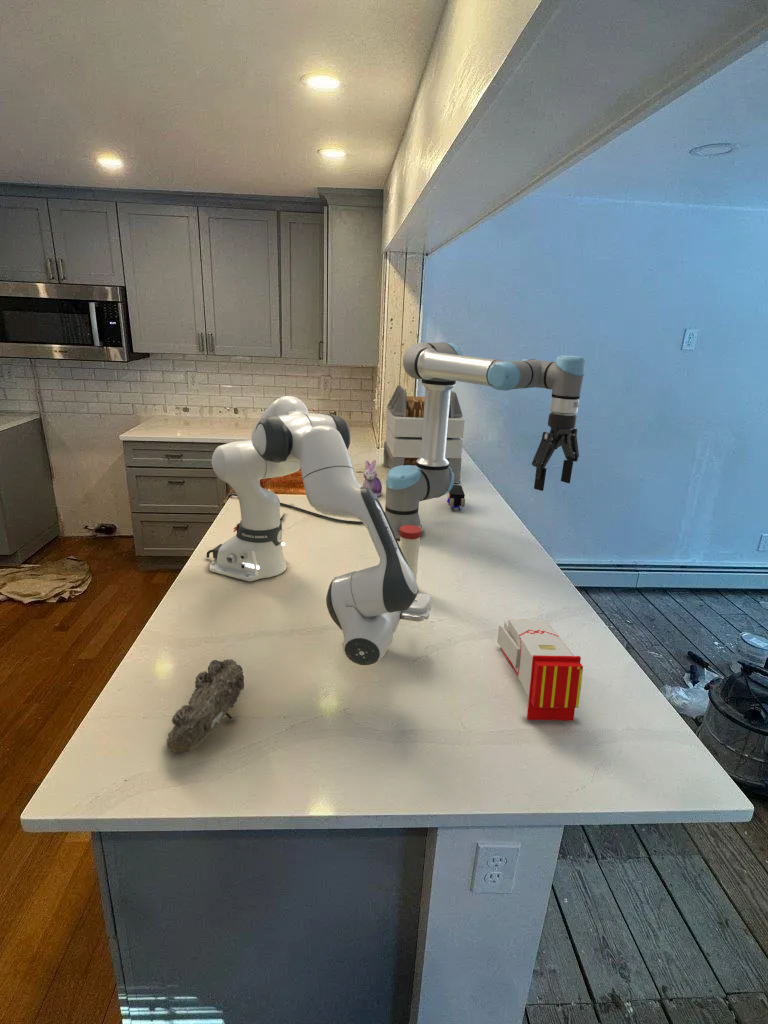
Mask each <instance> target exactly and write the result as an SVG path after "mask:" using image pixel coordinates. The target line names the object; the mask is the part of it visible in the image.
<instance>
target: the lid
mask: <svg viewBox="0 0 768 1024" xmlns="http://www.w3.org/2000/svg"><path fill="white" fill-rule="evenodd" d="M399 535H400V536H401V537H403V538H406V539H417V538H420V539H421V537H422V535H423V528H422V529H421V528H420V527H418V526H414V525H404V526H401V527H400V529H399Z"/></svg>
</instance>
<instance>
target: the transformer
mask: <svg viewBox="0 0 768 1024" xmlns="http://www.w3.org/2000/svg"><path fill="white" fill-rule="evenodd" d="M407 394H408V393H407V390H406V389H404V388H403V387H402V385H399V384H398V385H397V386H396V388H395V390H394V392H393V394H392V395H391V398H390V400H389V402H388V404H387V405H386V413H385V414H386V415H385V423H386V428H385V438H384V442H383V466H384V467H388V468H389V470H390V469H392V468H394V467H396V466H401V465H404V466H405V465H413V466H416V461H417V459H418V458H420V457H421V449H422V434H423V419H424V404H425V396H415V395H414V396H413V395H412V396H411V395H407ZM464 429H465V419H464V418H463V411H462V408H461V405H460V402H459V398H458V395H457V392H455V391H453V390H451V392H450V404H449V416H448V428H447V441H446V453H445V458H446V459H447V461H448V462H449V466H450V467H451V469H452V473H454V484H455V483H456V484H459V483H461V472H462V461H463V460H462V453H463V442H464V441H463V440H462V439H463V438H464V431H465V430H464Z"/></svg>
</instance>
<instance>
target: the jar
mask: <svg viewBox="0 0 768 1024" xmlns="http://www.w3.org/2000/svg"><path fill="white" fill-rule="evenodd" d="M420 539H421V537H420V538H417V539H406V538H403V537H401V536H400V540H399V546H400V549H401V551H402V553H403V555H404V557H405V559H406V561H407V563H408V564H409V566H410V568H411V570H412V572H413V574H414V576H415V579H416V581H418V569H419V567H418V566H419V552H420V541H421V540H420Z"/></svg>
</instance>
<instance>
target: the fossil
mask: <svg viewBox="0 0 768 1024" xmlns="http://www.w3.org/2000/svg"><path fill="white" fill-rule="evenodd" d="M243 670H244V669H243V667H242V665H240V664H237V662H236V661H235V660H234V659H232V658H231V659H227V658H226V659H224V660H223V661H222V660H217V659H212V660H211V661H210V663H209V665H208V666H207V671H201V672H199V673H198V674H197V675H196V676H195V680H194V684H195V685H194V687H195V689H194V690H193V693H192V694H191V697H190V698H189V700H188V704H184V705H182V706H181V707H180V709H177V710H176V711H175V713H174V715H173V716H172V718H171V723H172V724H173V727H172V730H171V731H170V732H168V734H167V738H166V741H167V742H166V745H167V749H168V750H169V751H173V752H174V753H176V754H178V753H182V752H188V751H189V752H192V751H193V750H195V748H196V747H197V746H199V744H200V743H201V742H203V741H204V740H205V739H206V738H207V737H208V736H209V735H210V734H211V733H212V732H214V730H215V729H217V727H218V726H219V724H220V722H221V721H222V720H223V719H224V718H225V716H226V717H227V719H229V720H233V717H232V715H230V714H229V710H230V709H231V708H234V706H235V704H236V703H237V702H238V699H239V697H240V695H241V693H242V691H243V690H245V689H244V688H245V675H244V671H243Z"/></svg>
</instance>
